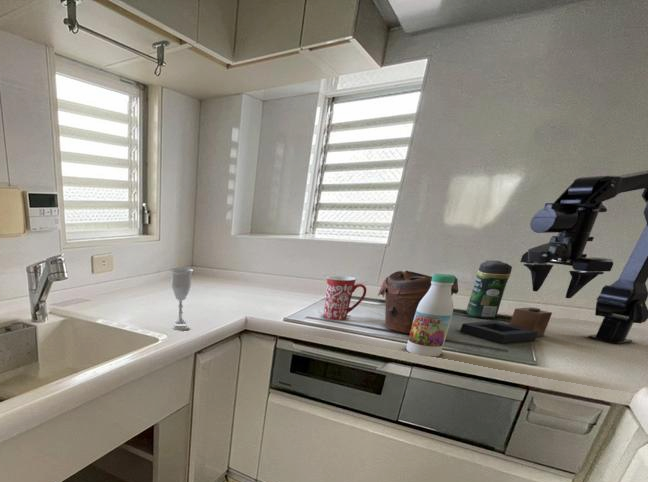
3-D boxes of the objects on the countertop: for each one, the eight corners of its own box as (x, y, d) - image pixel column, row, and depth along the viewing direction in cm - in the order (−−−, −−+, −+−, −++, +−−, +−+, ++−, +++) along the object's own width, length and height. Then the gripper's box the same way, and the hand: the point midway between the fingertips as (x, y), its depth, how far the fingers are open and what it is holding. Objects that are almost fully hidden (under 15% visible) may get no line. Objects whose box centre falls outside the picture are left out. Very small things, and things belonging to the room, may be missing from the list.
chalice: (165, 325, 130) (166, 268, 123) (183, 323, 132) (185, 267, 125) (175, 331, 123) (177, 272, 116) (194, 329, 126) (197, 270, 119)
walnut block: (519, 329, 124) (528, 305, 121) (543, 335, 118) (553, 310, 115) (507, 331, 123) (515, 306, 120) (530, 337, 117) (540, 311, 114)
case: (380, 318, 138) (392, 264, 131) (450, 329, 125) (468, 270, 118) (363, 328, 126) (375, 270, 119) (438, 342, 113) (457, 277, 106)
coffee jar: (462, 311, 146) (478, 258, 138) (489, 313, 143) (507, 259, 136) (469, 317, 137) (487, 262, 130) (498, 320, 135) (518, 263, 127)
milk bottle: (408, 345, 110) (427, 271, 102) (442, 351, 106) (465, 274, 98) (403, 353, 105) (423, 275, 97) (438, 359, 100) (462, 278, 92)
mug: (319, 318, 137) (325, 278, 132) (321, 313, 144) (328, 274, 139) (360, 323, 132) (368, 281, 126) (360, 317, 139) (368, 277, 134)
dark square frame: (491, 328, 125) (493, 320, 124) (534, 340, 114) (538, 331, 113) (460, 331, 123) (462, 323, 122) (501, 343, 112) (504, 335, 111)
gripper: (510, 230, 109) (492, 288, 115) (580, 235, 91) (554, 302, 98) (551, 230, 109) (530, 287, 115) (628, 234, 92) (599, 302, 98)
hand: (550, 294), depth 106 cm, fingers open, 9 cm apart
